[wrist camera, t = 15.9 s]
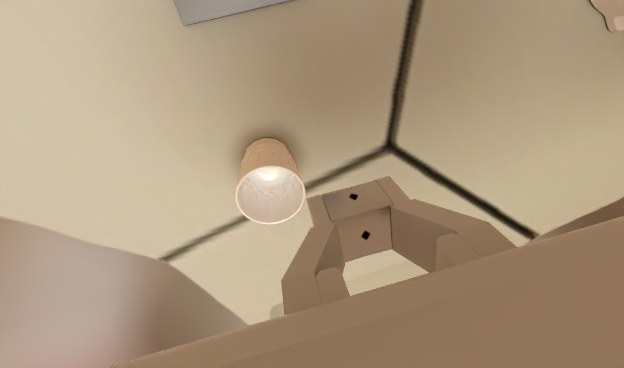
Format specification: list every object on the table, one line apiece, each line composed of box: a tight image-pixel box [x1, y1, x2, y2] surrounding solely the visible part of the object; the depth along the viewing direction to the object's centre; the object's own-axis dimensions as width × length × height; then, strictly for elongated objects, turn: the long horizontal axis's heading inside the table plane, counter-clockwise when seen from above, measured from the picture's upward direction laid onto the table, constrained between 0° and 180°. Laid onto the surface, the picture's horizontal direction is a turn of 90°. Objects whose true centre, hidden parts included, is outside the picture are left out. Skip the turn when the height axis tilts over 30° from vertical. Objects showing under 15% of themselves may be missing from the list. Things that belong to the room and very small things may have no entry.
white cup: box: [235, 138, 305, 224], centre depth 36 cm, size 8×8×10 cm
